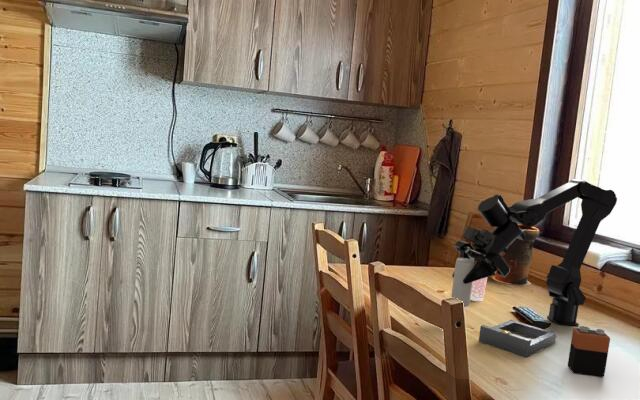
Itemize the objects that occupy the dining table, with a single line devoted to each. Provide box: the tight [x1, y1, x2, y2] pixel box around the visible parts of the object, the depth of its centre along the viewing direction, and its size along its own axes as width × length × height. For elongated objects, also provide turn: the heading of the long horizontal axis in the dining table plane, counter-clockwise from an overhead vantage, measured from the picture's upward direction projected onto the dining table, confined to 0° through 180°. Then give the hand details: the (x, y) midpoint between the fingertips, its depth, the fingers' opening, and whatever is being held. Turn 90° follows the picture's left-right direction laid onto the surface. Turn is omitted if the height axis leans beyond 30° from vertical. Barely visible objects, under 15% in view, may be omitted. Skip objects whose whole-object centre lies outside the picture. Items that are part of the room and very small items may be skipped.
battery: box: [567, 325, 611, 378], centre depth 137 cm, size 4×7×10 cm, turn 83°
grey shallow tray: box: [478, 319, 557, 358], centre depth 153 cm, size 18×12×4 cm
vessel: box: [489, 224, 540, 286], centre depth 221 cm, size 14×14×20 cm
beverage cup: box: [470, 277, 488, 302], centre depth 190 cm, size 6×6×14 cm
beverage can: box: [450, 257, 476, 308], centre depth 162 cm, size 5×5×12 cm
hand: (458, 280), depth 162 cm, fingers closed on beverage can, 5 cm apart
